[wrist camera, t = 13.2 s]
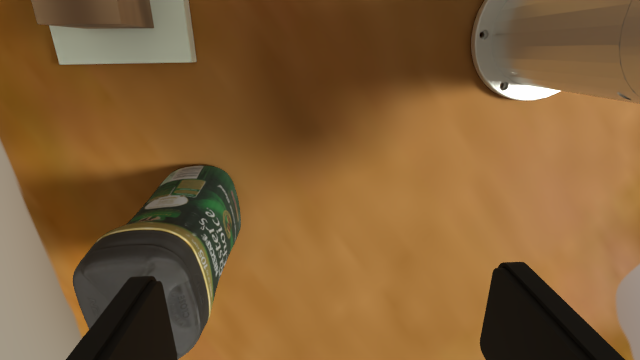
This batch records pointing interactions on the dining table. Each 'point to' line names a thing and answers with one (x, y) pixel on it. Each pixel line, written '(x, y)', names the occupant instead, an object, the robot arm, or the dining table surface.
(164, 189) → the coffee jar
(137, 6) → the walnut cube
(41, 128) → the dining table surface
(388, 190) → the dining table surface
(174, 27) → the plate
